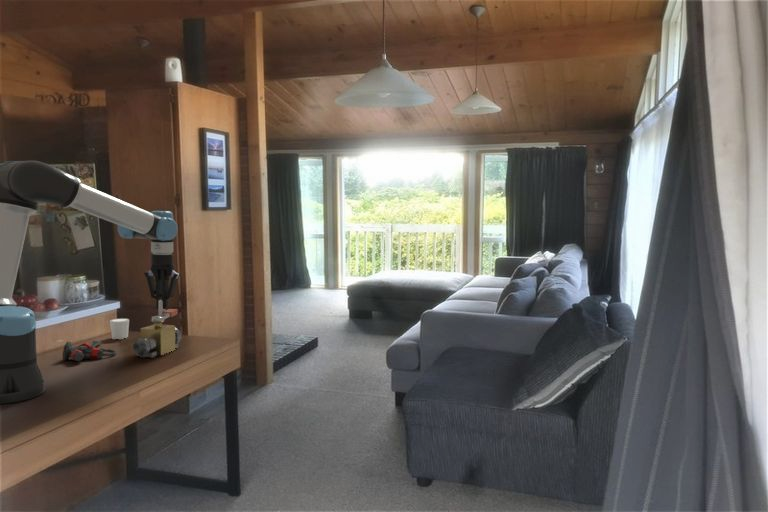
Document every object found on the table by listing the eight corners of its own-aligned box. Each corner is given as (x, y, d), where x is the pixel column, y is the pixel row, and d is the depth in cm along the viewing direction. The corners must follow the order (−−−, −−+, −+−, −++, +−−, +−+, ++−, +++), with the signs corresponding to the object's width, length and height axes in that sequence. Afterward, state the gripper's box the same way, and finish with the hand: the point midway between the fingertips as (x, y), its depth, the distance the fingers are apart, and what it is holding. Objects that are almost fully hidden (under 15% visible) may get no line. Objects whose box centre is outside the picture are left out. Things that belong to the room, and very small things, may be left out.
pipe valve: (151, 359, 185) (150, 328, 184) (131, 357, 187) (130, 326, 186) (183, 346, 203) (183, 318, 202) (164, 345, 205) (164, 316, 204)
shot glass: (133, 336, 218) (132, 318, 217) (123, 340, 211) (122, 322, 210) (116, 335, 218) (116, 317, 218) (106, 339, 211) (105, 321, 211)
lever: (161, 322, 192) (161, 317, 192) (149, 322, 192) (149, 317, 192) (178, 313, 208) (178, 309, 208) (168, 313, 208) (168, 308, 208)
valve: (106, 369, 181) (56, 365, 177) (124, 352, 206) (80, 348, 202) (109, 350, 181) (59, 345, 177) (126, 335, 206) (82, 331, 202)
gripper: (139, 253, 199) (140, 318, 201) (173, 255, 197) (173, 320, 199) (151, 251, 206) (151, 314, 208) (183, 253, 204) (183, 316, 207)
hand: (162, 317), depth 204 cm, fingers closed
